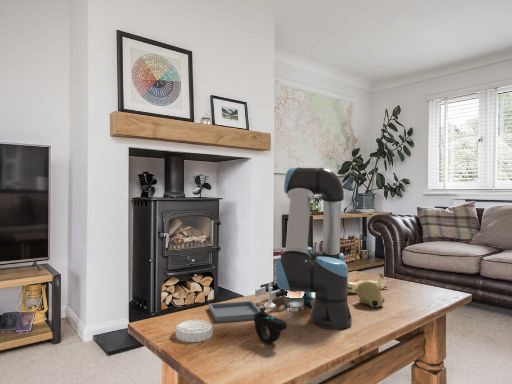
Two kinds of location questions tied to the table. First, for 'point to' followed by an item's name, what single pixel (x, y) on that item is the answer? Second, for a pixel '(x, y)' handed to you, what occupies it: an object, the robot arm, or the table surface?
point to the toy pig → (369, 293)
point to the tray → (233, 311)
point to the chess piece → (269, 303)
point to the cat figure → (354, 285)
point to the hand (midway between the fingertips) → (263, 294)
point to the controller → (268, 326)
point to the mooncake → (194, 330)
